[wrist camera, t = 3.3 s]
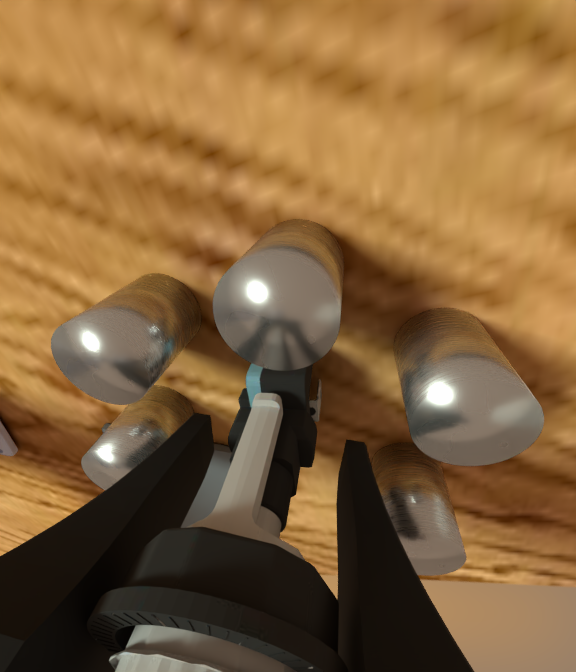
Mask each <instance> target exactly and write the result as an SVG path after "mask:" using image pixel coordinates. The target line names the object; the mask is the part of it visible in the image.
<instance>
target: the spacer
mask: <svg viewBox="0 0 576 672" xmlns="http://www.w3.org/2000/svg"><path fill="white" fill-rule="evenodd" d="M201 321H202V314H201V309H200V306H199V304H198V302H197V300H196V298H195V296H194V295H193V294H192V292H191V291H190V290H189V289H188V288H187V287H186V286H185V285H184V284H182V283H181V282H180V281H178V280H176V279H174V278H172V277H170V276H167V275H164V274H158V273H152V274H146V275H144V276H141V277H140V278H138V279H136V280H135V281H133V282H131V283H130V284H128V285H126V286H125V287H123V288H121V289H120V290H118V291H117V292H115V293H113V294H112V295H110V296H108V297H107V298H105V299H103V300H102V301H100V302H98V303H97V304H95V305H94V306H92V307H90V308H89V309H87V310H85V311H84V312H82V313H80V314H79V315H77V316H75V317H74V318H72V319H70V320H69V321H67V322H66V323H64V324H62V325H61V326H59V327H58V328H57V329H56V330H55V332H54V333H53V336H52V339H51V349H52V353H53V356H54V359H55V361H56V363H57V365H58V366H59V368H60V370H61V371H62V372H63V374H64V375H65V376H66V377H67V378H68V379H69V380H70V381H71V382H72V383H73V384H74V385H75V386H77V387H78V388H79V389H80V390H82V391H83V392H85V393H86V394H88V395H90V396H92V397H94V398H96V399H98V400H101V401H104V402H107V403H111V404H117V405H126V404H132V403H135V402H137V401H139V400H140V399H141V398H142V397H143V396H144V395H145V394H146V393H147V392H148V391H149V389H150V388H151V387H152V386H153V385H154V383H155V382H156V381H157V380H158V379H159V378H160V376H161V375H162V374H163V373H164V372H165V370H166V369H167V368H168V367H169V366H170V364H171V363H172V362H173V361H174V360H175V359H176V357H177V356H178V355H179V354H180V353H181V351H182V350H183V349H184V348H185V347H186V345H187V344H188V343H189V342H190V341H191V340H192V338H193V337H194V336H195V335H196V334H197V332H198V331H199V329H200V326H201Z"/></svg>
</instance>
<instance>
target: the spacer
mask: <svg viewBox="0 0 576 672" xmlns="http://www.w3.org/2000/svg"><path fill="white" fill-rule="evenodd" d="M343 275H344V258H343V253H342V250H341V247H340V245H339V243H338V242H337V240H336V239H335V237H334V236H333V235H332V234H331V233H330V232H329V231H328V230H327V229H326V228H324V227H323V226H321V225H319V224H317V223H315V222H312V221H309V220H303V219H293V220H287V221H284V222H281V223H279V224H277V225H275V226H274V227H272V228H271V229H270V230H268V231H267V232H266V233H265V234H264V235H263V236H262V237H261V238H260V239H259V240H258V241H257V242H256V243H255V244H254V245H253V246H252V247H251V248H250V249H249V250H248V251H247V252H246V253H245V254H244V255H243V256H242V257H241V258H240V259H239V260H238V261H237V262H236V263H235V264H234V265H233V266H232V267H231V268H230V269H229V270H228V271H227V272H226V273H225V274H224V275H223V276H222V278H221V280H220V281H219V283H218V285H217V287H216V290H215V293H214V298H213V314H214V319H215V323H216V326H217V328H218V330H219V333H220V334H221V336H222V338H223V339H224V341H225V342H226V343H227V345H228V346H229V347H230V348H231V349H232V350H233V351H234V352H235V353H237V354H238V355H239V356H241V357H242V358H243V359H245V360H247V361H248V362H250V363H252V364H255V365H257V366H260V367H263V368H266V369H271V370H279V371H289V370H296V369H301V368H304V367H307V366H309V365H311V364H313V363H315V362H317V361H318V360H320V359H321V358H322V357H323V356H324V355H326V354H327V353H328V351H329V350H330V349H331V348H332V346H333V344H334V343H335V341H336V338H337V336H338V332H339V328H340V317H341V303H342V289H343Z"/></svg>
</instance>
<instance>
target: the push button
mask: <svg viewBox="0 0 576 672" xmlns="http://www.w3.org/2000/svg"><path fill="white" fill-rule="evenodd" d="M312 366H313V364H311V365H309V366H307V367H304V368H301V369H296V370H289V371H279V370H271V369H266V368H263V367H260V366H257V365H255V364H252V363H251V365H250V367H249V370H248V372H247V375H246V387H247V388H244V389H243V390H242V393H241V395H240V397H239V404H240V409H239V411H238V413H237V416H236V418H235V421H234V423H233V425H232V428H231V430H230V433H229V436H228V444H229V448H230V451H231V452H232V454H231V457H230V464H231V466H230V468H229V471H228V474H227V476H226V479H225V482H224V484H223V487H222V490H221V492H220V495H219V498H218V501H217V503H216V506H215V508H214V509H213V511H212V512H211V513H210V514H209V516H207V517H206V518H204V519H203V520H200V521H198V522H196V523H194V524H192V525H190V526H188V527H186V528H171V529H166V530H164V531H162V532H161V533H160V534H159V535H157V536H156V537H155V538H154V539H152V540H151V541H150V542H149V543H148V544H146V545H145V546H144V547H143V548H141V549H140V550H139V551H138V553H137V554H136V556H135V558H134V560H133V562H132V564H131V566H130V568H129V570H128V572H127V573H126V575H125V577H124V579H123V581H122V583H121V585H120V587H119V588H118V589H114V590H111V591H109V592H106V593H105V594H104V595H102V596H101V598H100V599H99V601H98V603H97V604H96V606H95V608H94V610H93V612H92V614H91V615H90V617H89V619H88V621H87V629H88V631H89V633H90V634H91V636H92V637H93V638H94V639H95V640H96V641H97V642H98V643H99V644H100V645H101V646H103V647H104V648H105V649H107V650H108V651H109V652H111V653H112V654H114V655H113V656H111V657H110V659H109V662H110V664H111V665H112V666H113V668H114V669H115V672H348V668H347V666H346V664H345V662H344V661H343V660H342V658H341V657H340V656H339V655H338V628H339V603H338V600H337V599H336V598H335V596H334V594H333V593H332V592H331V590H330V589H329V587H328V586H327V584H326V583H325V582H324V580H323V579H322V577H321V576H320V574H319V573H318V572H317V570H316V569H315V567H314V566H312V565H311V564H310V563H308V562H306V561H305V559H304V558H303V556H302V555H301V553H300V552H299V550H298V549H296V548H295V547H293V546H291V545H289V544H288V543H286V542H284V541H282V540H281V539H279V536H280V532H282V531H283V530H284V528H285V526H286V522H287V516H288V510H289V504H290V498H291V497H293V496H295V495H296V491H297V484H298V478H299V471H300V467H308V468H309V467H312V463H313V460H314V455H315V446H316V437H317V428H316V424H315V422H314V421H316V422H317V421H319V415H320V407H321V395H322V392H321V379H319V381H318V389H317V399H315V400H309V392H310V383H311V375H312Z"/></svg>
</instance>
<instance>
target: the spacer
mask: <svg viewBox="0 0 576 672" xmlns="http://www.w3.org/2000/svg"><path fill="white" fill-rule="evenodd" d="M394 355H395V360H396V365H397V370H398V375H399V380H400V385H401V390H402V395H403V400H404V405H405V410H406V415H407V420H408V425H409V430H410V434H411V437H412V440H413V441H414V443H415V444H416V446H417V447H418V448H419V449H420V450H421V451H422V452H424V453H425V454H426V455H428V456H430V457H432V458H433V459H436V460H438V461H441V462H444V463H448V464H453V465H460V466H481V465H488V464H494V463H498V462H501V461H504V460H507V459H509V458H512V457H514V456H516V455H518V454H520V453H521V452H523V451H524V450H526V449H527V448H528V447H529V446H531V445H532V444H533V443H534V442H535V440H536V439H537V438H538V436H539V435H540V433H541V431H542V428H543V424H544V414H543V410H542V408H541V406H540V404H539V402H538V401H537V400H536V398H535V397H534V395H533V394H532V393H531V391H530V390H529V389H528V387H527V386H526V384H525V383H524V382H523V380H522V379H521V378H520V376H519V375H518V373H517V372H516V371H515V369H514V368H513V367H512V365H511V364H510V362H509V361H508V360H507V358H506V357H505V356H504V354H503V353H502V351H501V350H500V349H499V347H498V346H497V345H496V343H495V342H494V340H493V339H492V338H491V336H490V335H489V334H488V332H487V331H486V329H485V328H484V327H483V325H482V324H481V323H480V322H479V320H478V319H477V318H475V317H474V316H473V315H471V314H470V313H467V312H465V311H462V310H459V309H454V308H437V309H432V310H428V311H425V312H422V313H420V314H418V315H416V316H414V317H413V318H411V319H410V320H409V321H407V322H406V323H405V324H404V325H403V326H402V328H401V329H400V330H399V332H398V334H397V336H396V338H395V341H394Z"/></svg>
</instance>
